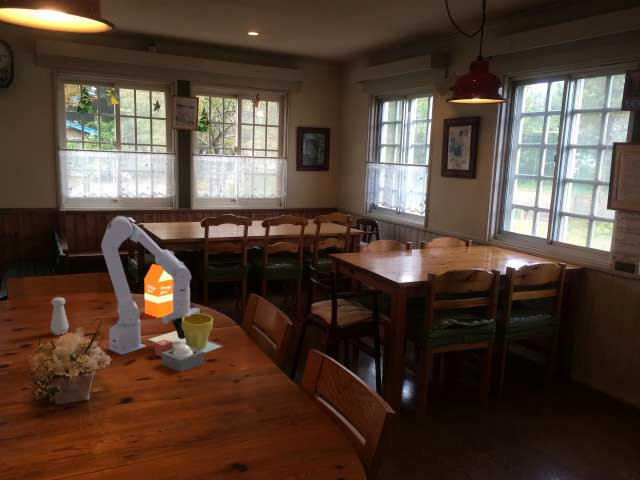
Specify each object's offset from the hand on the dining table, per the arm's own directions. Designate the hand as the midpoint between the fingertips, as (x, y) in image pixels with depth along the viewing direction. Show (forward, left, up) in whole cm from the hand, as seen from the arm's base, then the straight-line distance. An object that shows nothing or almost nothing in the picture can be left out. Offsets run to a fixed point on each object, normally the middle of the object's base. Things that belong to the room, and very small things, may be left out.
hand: (181, 338), depth 186 cm
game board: (0, -2, -1) cm, 2 cm away
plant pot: (0, -7, -1) cm, 7 cm away
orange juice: (+15, +32, -2) cm, 36 cm away
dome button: (-12, -16, 0) cm, 20 cm away
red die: (-11, -5, -1) cm, 12 cm away
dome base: (-12, -16, -1) cm, 20 cm away
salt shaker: (-23, +38, -2) cm, 45 cm away
